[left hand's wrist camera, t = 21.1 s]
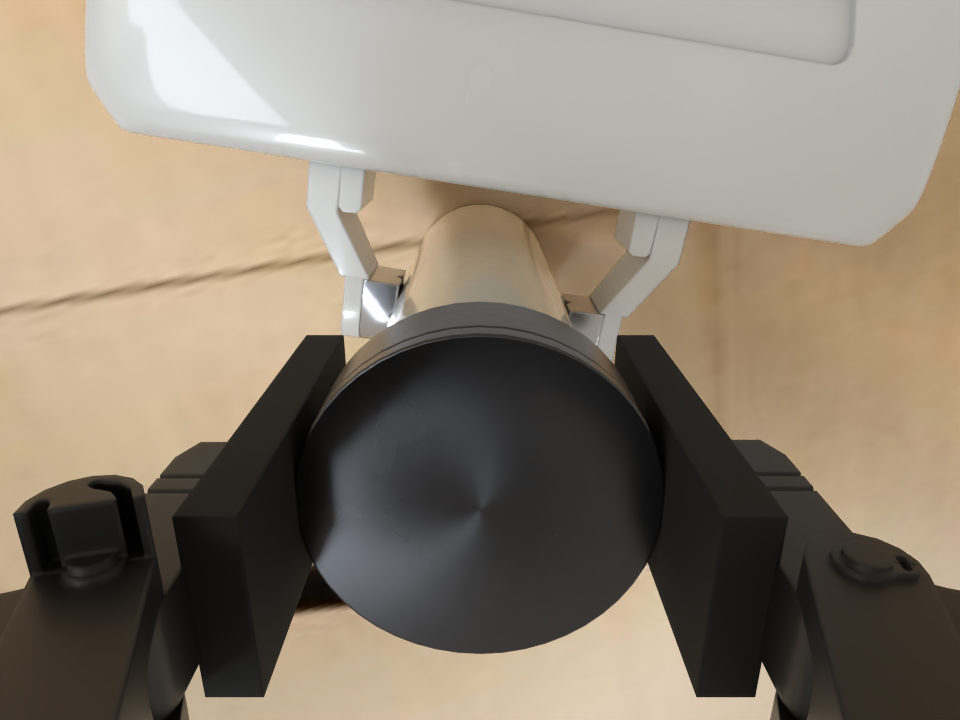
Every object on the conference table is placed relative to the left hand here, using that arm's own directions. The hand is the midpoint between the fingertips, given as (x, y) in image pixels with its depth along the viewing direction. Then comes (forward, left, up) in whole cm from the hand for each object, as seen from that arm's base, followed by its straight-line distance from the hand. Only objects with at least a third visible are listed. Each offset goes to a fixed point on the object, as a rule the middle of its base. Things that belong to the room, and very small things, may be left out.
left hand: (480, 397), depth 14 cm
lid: (0, 0, +4) cm, 4 cm away
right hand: (-1, 0, -5) cm, 6 cm away
